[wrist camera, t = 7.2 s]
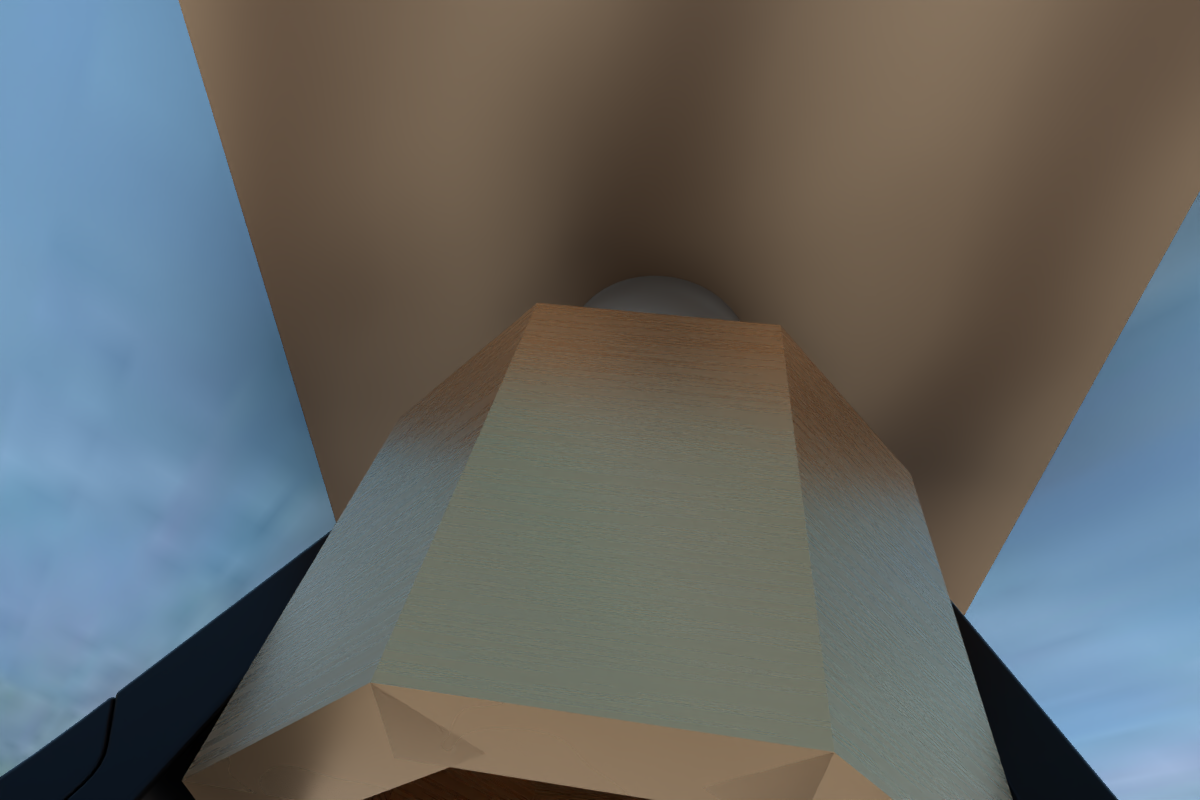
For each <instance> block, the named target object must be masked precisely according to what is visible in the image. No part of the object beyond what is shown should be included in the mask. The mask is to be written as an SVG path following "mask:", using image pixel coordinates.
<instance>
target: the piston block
mask: <svg viewBox="0 0 1200 800" xmlns="http://www.w3.org/2000/svg"><path fill="white" fill-rule="evenodd" d="M179 3H180V6H181V10H182V13H183V16H184V20H185V23H186V26H187V29H188V33H189V36H190V39H191V43H192V46H193V49H194V53H195V56H196V59H197V63H198V66H199V69H200V73H201V76H202V79H203V82H204V86H205V89H206V92H207V96H208V99H209V102H210V106H211V109H212V112H213V116H214V119H215V122H216V126H217V129H218V132H219V136H220V139H221V142H222V145H223V149H224V152H225V155H226V159H227V162H228V165H229V169H230V172H231V175H232V179H233V182H234V185H235V189H236V192H237V195H238V198H239V202H240V205H241V208H242V212H243V215H244V218H245V222H246V225H247V228H248V232H249V235H250V238H251V242H252V245H253V248H254V252H255V255H256V258H257V261H258V265H259V268H260V271H261V275H262V278H263V281H264V285H265V288H266V291H267V295H268V298H269V301H270V305H271V308H272V311H273V315H274V318H275V321H276V324H277V328H278V331H279V334H280V338H281V341H282V344H283V348H284V351H285V354H286V358H287V361H288V364H289V368H290V371H291V374H292V377H293V381H294V384H295V387H296V391H297V394H298V397H299V401H300V404H301V407H302V411H303V414H304V417H305V421H306V424H307V427H308V431H309V434H310V437H311V440H312V444H313V447H314V450H315V454H316V457H317V460H318V464H319V467H320V470H321V474H322V477H323V480H324V484H325V487H326V490H327V493H328V497H329V500H330V503H331V507H332V510H333V513H334V517H335V520H336V523H337V521H338V519H339V518H340V516H341V514H342V513H343V511H344V509H345V508H346V506H347V504H348V503H349V501H350V499H351V498H352V496H353V494H354V493H355V491H356V489H357V488H358V486H359V484H360V483H361V481H362V479H363V478H364V476H365V474H366V473H367V471H368V469H369V468H370V466H371V464H372V463H373V461H374V459H375V458H376V456H377V454H378V453H379V451H380V449H381V448H382V446H383V444H384V443H385V441H386V439H387V438H388V436H389V434H390V433H391V431H392V429H393V428H394V426H395V424H396V423H397V421H398V419H399V418H400V417H401V416H402V415H403V414H404V413H406V412H407V411H408V410H409V409H410V408H412V407H413V406H414V405H415V404H416V403H418V402H419V401H420V400H421V399H422V398H424V397H425V396H426V395H427V394H428V393H430V392H431V391H432V390H433V389H434V388H436V387H437V386H438V385H439V384H440V383H442V382H443V381H444V380H445V379H446V378H448V377H449V376H450V375H451V374H452V373H453V372H455V371H456V370H457V369H458V368H459V367H461V366H462V365H463V364H464V363H465V362H467V361H468V360H469V359H470V358H471V357H473V356H474V355H475V354H476V353H477V352H479V351H480V350H481V349H482V348H483V347H485V346H486V345H487V344H488V343H489V342H491V341H492V340H493V339H494V338H495V337H497V336H498V335H499V334H500V333H501V332H503V331H504V330H505V329H506V328H507V327H509V326H510V325H511V324H512V323H513V322H515V321H516V320H517V319H518V318H519V317H521V316H522V315H523V314H524V313H525V312H527V311H528V310H529V309H530V308H531V307H533V306H534V305H535V304H536V303H545V304H556V305H567V306H578V307H589V308H600V309H611V310H622V311H633V312H644V313H655V314H666V315H677V316H688V317H699V318H710V319H721V320H732V321H743V322H753V323H764V324H775V325H781V326H782V327H783V328H784V330H785V331H786V332H787V333H788V334H789V335H790V336H791V338H792V339H793V340H794V341H795V342H796V343H797V344H798V346H799V347H800V348H801V349H802V350H803V351H804V352H805V354H806V355H807V356H808V357H809V358H810V359H811V360H812V362H813V363H814V364H815V365H816V366H817V367H818V368H819V370H820V371H821V372H822V373H823V374H824V375H825V376H826V378H827V379H828V380H829V381H830V382H831V383H832V384H833V386H834V387H835V388H836V389H837V390H838V391H839V392H840V394H841V395H842V396H843V397H844V398H845V399H846V400H847V401H848V403H849V404H850V405H851V406H852V407H853V408H854V409H855V411H856V412H857V413H858V414H859V415H860V416H861V417H862V419H863V420H864V421H865V422H866V423H867V424H868V425H869V427H870V428H871V429H872V430H873V431H874V432H875V433H876V435H877V436H878V437H879V438H880V439H881V440H882V441H883V443H884V444H885V445H886V446H887V447H888V448H889V449H890V451H891V452H892V453H893V454H894V455H895V456H896V457H897V459H898V460H899V461H900V462H901V463H902V464H903V465H904V467H905V468H906V469H907V470H908V471H909V472H910V473H911V476H912V479H913V483H914V486H915V489H916V492H917V495H918V499H919V502H920V505H921V508H922V511H923V515H924V518H925V521H926V524H927V527H928V531H929V534H930V537H931V540H932V543H933V547H934V550H935V553H936V556H937V559H938V563H939V566H940V569H941V572H942V575H943V579H944V582H945V585H946V588H947V591H948V595H949V598H950V600H951V601H952V602H953V603H954V604H955V606H956V607H957V608H958V609H959V610H960V612H961V613H962V614H963V615H965V613H966V611H967V609H968V608H969V606H970V604H971V602H972V600H973V599H974V597H975V595H976V593H977V591H978V590H979V588H980V586H981V584H982V582H983V581H984V579H985V577H986V575H987V573H988V572H989V570H990V568H991V566H992V564H993V563H994V561H995V559H996V557H997V555H998V553H999V552H1000V550H1001V548H1002V546H1003V544H1004V543H1005V541H1006V539H1007V537H1008V535H1009V534H1010V532H1011V530H1012V528H1013V526H1014V525H1015V523H1016V521H1017V519H1018V517H1019V516H1020V514H1021V512H1022V510H1023V508H1024V507H1025V505H1026V503H1027V501H1028V499H1029V498H1030V496H1031V494H1032V492H1033V490H1034V489H1035V487H1036V485H1037V483H1038V481H1039V480H1040V478H1041V476H1042V474H1043V472H1044V471H1045V469H1046V467H1047V465H1048V463H1049V462H1050V460H1051V458H1052V456H1053V454H1054V453H1055V451H1056V449H1057V447H1058V445H1059V444H1060V442H1061V440H1062V438H1063V436H1064V435H1065V433H1066V431H1067V429H1068V427H1069V425H1070V424H1071V422H1072V420H1073V418H1074V416H1075V415H1076V413H1077V411H1078V409H1079V407H1080V406H1081V404H1082V402H1083V400H1084V398H1085V397H1086V395H1087V393H1088V391H1089V389H1090V388H1091V386H1092V384H1093V382H1094V380H1095V379H1096V377H1097V375H1098V373H1099V371H1100V370H1101V368H1102V366H1103V364H1104V362H1105V361H1106V359H1107V357H1108V355H1109V353H1110V352H1111V350H1112V348H1113V346H1114V344H1115V343H1116V341H1117V339H1118V337H1119V335H1120V334H1121V332H1122V330H1123V328H1124V326H1125V325H1126V323H1127V321H1128V319H1129V317H1130V316H1131V314H1132V312H1133V310H1134V308H1135V306H1136V305H1137V303H1138V301H1139V299H1140V297H1141V296H1142V294H1143V292H1144V290H1145V288H1146V287H1147V285H1148V283H1149V281H1150V279H1151V278H1152V276H1153V274H1154V272H1155V270H1156V269H1157V267H1158V265H1159V263H1160V261H1161V260H1162V258H1163V256H1164V254H1165V252H1166V251H1167V249H1168V247H1169V245H1170V243H1171V242H1172V240H1173V238H1174V236H1175V234H1176V233H1177V231H1178V229H1179V227H1180V225H1181V224H1182V222H1183V220H1184V218H1185V216H1186V215H1187V213H1188V211H1189V209H1190V207H1191V206H1192V204H1193V202H1194V200H1195V198H1196V197H1197V195H1198V193H1199V191H1200V0H179Z"/></svg>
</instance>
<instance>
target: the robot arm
mask: <svg viewBox="0 0 1200 800" xmlns="http://www.w3.org/2000/svg"><path fill="white" fill-rule="evenodd" d="M331 531H332V530H331ZM331 531H330V532H328V533H327V534H326V535H324V536H323V537H322V538H321V539H319V540H318V541H317V542H315V543H314V544H313V545H311V546H310V547H309V548H307V549H306V550H305V551H303V552H302V553H301V554H299V555H298V556H297V557H295V558H294V559H293V560H291V561H290V562H289V563H288V564H286V565H285V566H284V567H282V568H281V569H280V570H278V571H277V572H276V573H274V574H273V575H272V576H270V577H269V578H268V579H266V580H265V581H264V582H262V583H261V584H260V585H258V586H257V587H256V588H255V589H253V590H252V591H251V592H249V593H248V594H247V595H245V596H244V597H243V598H241V599H240V600H239V601H237V602H236V603H235V604H233V605H232V606H231V607H229V608H228V609H227V610H226V611H224V612H223V613H222V614H220V615H219V616H218V617H216V618H215V619H214V620H212V621H211V622H210V623H208V624H207V625H206V626H204V627H203V628H202V629H200V630H199V631H198V632H196V633H195V634H194V635H193V636H191V637H190V638H189V639H187V640H186V641H185V642H183V643H182V644H181V645H179V646H178V647H177V648H175V649H174V650H173V651H171V652H170V653H169V654H167V655H166V656H165V657H163V658H162V659H161V660H160V661H158V662H157V663H156V664H154V665H153V666H152V667H150V668H149V669H148V670H146V671H145V672H144V673H142V674H141V675H140V676H138V677H137V678H136V679H134V680H133V681H132V682H130V683H129V684H128V685H127V686H125V687H124V688H123V689H121V690H120V691H119V692H118V693H117V694H116V698H114V697H111V698H109V699H108V700H106V701H105V702H104V703H102V704H101V705H100V706H98V707H97V708H96V709H94V710H93V711H92V712H91V713H89V714H88V715H87V716H85V717H84V718H83V719H81V720H80V721H79V722H77V723H76V724H74V725H73V726H72V727H70V728H69V729H68V730H66V731H65V732H64V733H62V734H61V735H59V736H58V737H57V738H55V739H54V740H53V741H51V742H50V743H48V744H47V745H46V746H44V747H43V748H42V749H40V750H39V751H38V752H36V753H35V754H33V755H32V756H30V757H29V758H28V759H26V760H25V761H23V762H22V763H20V764H19V765H17V766H16V767H14V768H13V769H11V770H10V771H8V772H7V773H5V774H4V775H3V776H1V777H0V800H195V798H194V797H193V796H192V794H191V793H190V791H189V790H188V789H187V787H186V786H185V785H184V783H183V782H182V779H183V778H184V776H185V774H186V773H187V771H188V769H189V768H190V766H191V764H192V763H193V761H194V759H195V758H196V756H197V754H198V753H199V751H200V749H201V748H202V746H203V744H204V743H205V741H206V739H207V738H208V736H209V734H210V733H211V731H212V729H213V728H214V726H215V724H216V723H217V721H218V719H219V718H220V716H221V714H222V713H223V711H224V709H225V708H226V706H227V704H228V703H229V701H230V699H231V698H232V696H233V694H234V693H235V691H236V689H237V688H238V686H239V684H240V683H241V681H242V679H243V678H244V676H245V674H246V673H247V671H248V669H249V668H250V666H251V664H252V663H253V661H254V659H255V658H256V656H257V654H258V653H259V651H260V649H261V648H262V646H263V644H264V643H265V641H266V639H267V638H268V636H269V634H270V633H271V631H272V629H273V628H274V626H275V624H276V623H277V621H278V619H279V618H280V616H281V614H282V613H283V611H284V609H285V608H286V606H287V604H288V603H289V601H290V599H291V598H292V596H293V594H294V593H295V591H296V589H297V588H298V586H299V584H300V583H301V581H302V579H303V578H304V576H305V574H306V573H307V571H308V569H309V568H310V566H311V564H312V563H313V561H314V559H315V558H316V556H317V554H318V553H319V551H320V549H321V548H322V546H323V544H324V543H325V541H326V539H327V538H328V536H329V534H330V533H331ZM950 601H951V600H950ZM951 604H952V607H953V611H954V614H955V617H956V620H957V623H958V627H959V630H960V633H961V636H962V639H963V643H964V646H965V649H966V652H967V655H968V659H969V662H970V665H971V668H972V671H973V675H974V678H975V681H976V684H977V687H978V690H979V694H980V697H981V700H982V703H983V706H984V710H985V713H986V716H987V719H988V722H989V726H990V729H991V732H992V735H993V738H994V742H995V745H996V748H997V751H998V754H999V758H1000V761H1001V764H1002V767H1003V770H1004V774H1005V777H1006V780H1007V783H1008V786H1009V790H1010V793H1011V796H1012V799H1013V800H1118V799H1117V798H1116V796H1115V795H1114V794H1113V793H1112V792H1111V791H1110V789H1109V788H1108V787H1107V786H1106V785H1105V783H1104V782H1103V781H1102V780H1101V779H1100V777H1099V776H1098V775H1097V774H1096V773H1095V771H1094V770H1093V769H1092V768H1091V767H1090V765H1089V764H1088V763H1087V762H1086V761H1085V760H1084V758H1083V757H1082V756H1081V755H1080V754H1079V752H1078V751H1077V750H1076V749H1075V748H1074V746H1073V745H1072V744H1071V743H1070V742H1069V740H1068V739H1067V738H1066V737H1065V736H1064V734H1063V733H1062V732H1061V731H1060V730H1059V728H1058V727H1057V726H1056V725H1055V724H1054V723H1053V721H1052V720H1051V719H1050V718H1049V717H1048V715H1047V714H1046V713H1045V712H1044V711H1043V709H1042V708H1041V707H1040V706H1039V705H1038V703H1037V702H1036V701H1035V700H1034V699H1033V697H1032V696H1031V695H1030V694H1029V693H1028V691H1027V690H1026V689H1025V688H1024V687H1023V686H1022V684H1021V683H1020V682H1019V681H1018V680H1017V678H1016V677H1015V676H1014V675H1013V674H1012V672H1011V671H1010V670H1009V669H1008V668H1007V666H1006V665H1005V664H1004V663H1003V662H1002V660H1001V659H1000V658H999V657H998V656H997V654H996V653H995V652H994V651H993V650H992V649H991V647H990V646H989V645H988V644H987V643H986V641H985V640H984V639H983V638H982V637H981V635H980V634H979V633H978V632H977V631H976V629H975V628H974V627H973V626H972V625H971V623H970V622H969V621H968V620H967V619H966V618H965V616H964V615H963V614H962V613H961V612H960V610H959V609H958V608H957V607H956V606H955V604H954V603H953V602H952V601H951Z"/></svg>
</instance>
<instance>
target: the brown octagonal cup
mask: <svg viewBox="0 0 1200 800" xmlns="http://www.w3.org/2000/svg"><path fill="white" fill-rule="evenodd" d="M182 782H183V783H184V785H185V786H186V787H187V789H188V790H189V791H190V793H191V794H192V796H193V797H194V798H195V800H1013V799H1012V796H1011V793H1010V790H1009V786H1008V783H1007V780H1006V777H1005V774H1004V770H1003V767H1002V764H1001V761H1000V758H999V754H998V751H997V748H996V745H995V742H994V738H993V735H992V732H991V729H990V726H989V722H988V719H987V716H986V713H985V710H984V706H983V703H982V700H981V697H980V694H979V690H978V687H977V684H976V681H975V678H974V675H973V671H972V668H971V665H970V662H969V659H968V655H967V652H966V649H965V646H964V643H963V639H962V636H961V633H960V630H959V627H958V623H957V620H956V617H955V614H954V611H953V607H952V604H951V601H950V598H949V595H948V591H947V588H946V585H945V582H944V579H943V575H942V572H941V569H940V566H939V563H938V559H937V556H936V553H935V550H934V547H933V543H932V540H931V537H930V534H929V531H928V527H927V524H926V521H925V518H924V515H923V511H922V508H921V505H920V502H919V499H918V495H917V492H916V489H915V486H914V483H913V479H912V476H911V473H910V472H909V471H908V470H907V469H906V468H905V467H904V465H903V464H902V463H901V462H900V461H899V460H898V459H897V457H896V456H895V455H894V454H893V453H892V452H891V451H890V449H889V448H888V447H887V446H886V445H885V444H884V443H883V441H882V440H881V439H880V438H879V437H878V436H877V435H876V433H875V432H874V431H873V430H872V429H871V428H870V427H869V425H868V424H867V423H866V422H865V421H864V420H863V419H862V417H861V416H860V415H859V414H858V413H857V412H856V411H855V409H854V408H853V407H852V406H851V405H850V404H849V403H848V401H847V400H846V399H845V398H844V397H843V396H842V395H841V394H840V392H839V391H838V390H837V389H836V388H835V387H834V386H833V384H832V383H831V382H830V381H829V380H828V379H827V378H826V376H825V375H824V374H823V373H822V372H821V371H820V370H819V368H818V367H817V366H816V365H815V364H814V363H813V362H812V360H811V359H810V358H809V357H808V356H807V355H806V354H805V352H804V351H803V350H802V349H801V348H800V347H799V346H798V344H797V343H796V342H795V341H794V340H793V339H792V338H791V336H790V335H789V334H788V333H787V332H786V331H785V330H784V328H783V327H782V326H781V325H775V324H764V323H753V322H743V321H732V320H721V319H710V318H699V317H688V316H677V315H666V314H655V313H644V312H633V311H622V310H611V309H600V308H589V307H578V306H567V305H556V304H545V303H536V304H535V305H534V306H533V307H531V308H530V309H529V310H528V311H527V312H525V313H524V314H523V315H522V316H521V317H519V318H518V319H517V320H516V321H515V322H513V323H512V324H511V325H510V326H509V327H507V328H506V329H505V330H504V331H503V332H501V333H500V334H499V335H498V336H497V337H495V338H494V339H493V340H492V341H491V342H489V343H488V344H487V345H486V346H485V347H483V348H482V349H481V350H480V351H479V352H477V353H476V354H475V355H474V356H473V357H471V358H470V359H469V360H468V361H467V362H465V363H464V364H463V365H462V366H461V367H459V368H458V369H457V370H456V371H455V372H453V373H452V374H451V375H450V376H449V377H448V378H446V379H445V380H444V381H443V382H442V383H440V384H439V385H438V386H437V387H436V388H434V389H433V390H432V391H431V392H430V393H428V394H427V395H426V396H425V397H424V398H422V399H421V400H420V401H419V402H418V403H416V404H415V405H414V406H413V407H412V408H410V409H409V410H408V411H407V412H406V413H404V414H403V415H402V416H401V417H400V418H399V419H398V421H397V423H396V424H395V426H394V428H393V429H392V431H391V433H390V434H389V436H388V438H387V439H386V441H385V443H384V444H383V446H382V448H381V449H380V451H379V453H378V454H377V456H376V458H375V459H374V461H373V463H372V464H371V466H370V468H369V469H368V471H367V473H366V474H365V476H364V478H363V479H362V481H361V483H360V484H359V486H358V488H357V489H356V491H355V493H354V494H353V496H352V498H351V499H350V501H349V503H348V504H347V506H346V508H345V509H344V511H343V513H342V514H341V516H340V518H339V519H338V521H337V523H336V524H335V526H334V528H333V529H332V531H331V533H330V534H329V536H328V538H327V539H326V541H325V543H324V544H323V546H322V548H321V549H320V551H319V553H318V554H317V556H316V558H315V559H314V561H313V563H312V564H311V566H310V568H309V569H308V571H307V573H306V574H305V576H304V578H303V579H302V581H301V583H300V584H299V586H298V588H297V589H296V591H295V593H294V594H293V596H292V598H291V599H290V601H289V603H288V604H287V606H286V608H285V609H284V611H283V613H282V614H281V616H280V618H279V619H278V621H277V623H276V624H275V626H274V628H273V629H272V631H271V633H270V634H269V636H268V638H267V639H266V641H265V643H264V644H263V646H262V648H261V649H260V651H259V653H258V654H257V656H256V658H255V659H254V661H253V663H252V664H251V666H250V668H249V669H248V671H247V673H246V674H245V676H244V678H243V679H242V681H241V683H240V684H239V686H238V688H237V689H236V691H235V693H234V694H233V696H232V698H231V699H230V701H229V703H228V704H227V706H226V708H225V709H224V711H223V713H222V714H221V716H220V718H219V719H218V721H217V723H216V724H215V726H214V728H213V729H212V731H211V733H210V734H209V736H208V738H207V739H206V741H205V743H204V744H203V746H202V748H201V749H200V751H199V753H198V754H197V756H196V758H195V759H194V761H193V763H192V764H191V766H190V768H189V769H188V771H187V773H186V774H185V776H184V778H183V779H182Z"/></svg>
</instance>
